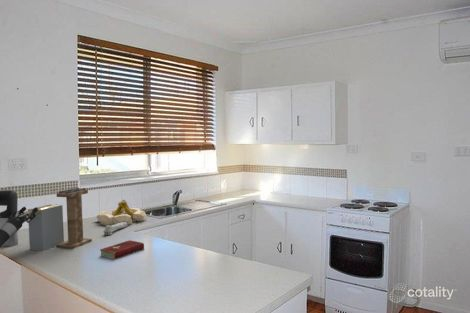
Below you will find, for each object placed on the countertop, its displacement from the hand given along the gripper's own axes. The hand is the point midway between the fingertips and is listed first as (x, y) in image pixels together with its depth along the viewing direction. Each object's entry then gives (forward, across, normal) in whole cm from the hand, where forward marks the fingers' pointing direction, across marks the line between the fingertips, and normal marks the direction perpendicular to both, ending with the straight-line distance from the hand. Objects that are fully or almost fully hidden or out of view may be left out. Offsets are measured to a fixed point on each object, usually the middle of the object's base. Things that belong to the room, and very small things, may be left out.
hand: (31, 208), depth 217 cm
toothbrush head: (+32, -18, +48) cm, 61 cm away
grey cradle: (-4, 0, +27) cm, 27 cm away
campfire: (+56, -3, +62) cm, 84 cm away
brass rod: (+5, 0, +8) cm, 9 cm away
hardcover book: (-2, -51, +28) cm, 58 cm away
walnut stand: (+3, -13, +31) cm, 34 cm away
